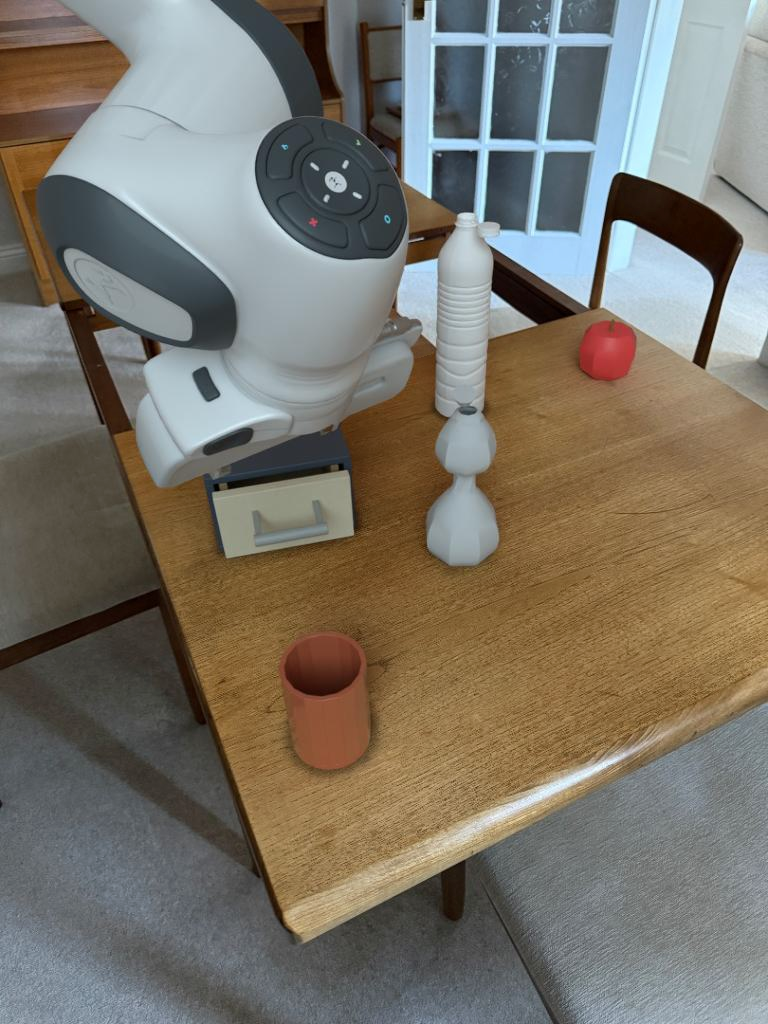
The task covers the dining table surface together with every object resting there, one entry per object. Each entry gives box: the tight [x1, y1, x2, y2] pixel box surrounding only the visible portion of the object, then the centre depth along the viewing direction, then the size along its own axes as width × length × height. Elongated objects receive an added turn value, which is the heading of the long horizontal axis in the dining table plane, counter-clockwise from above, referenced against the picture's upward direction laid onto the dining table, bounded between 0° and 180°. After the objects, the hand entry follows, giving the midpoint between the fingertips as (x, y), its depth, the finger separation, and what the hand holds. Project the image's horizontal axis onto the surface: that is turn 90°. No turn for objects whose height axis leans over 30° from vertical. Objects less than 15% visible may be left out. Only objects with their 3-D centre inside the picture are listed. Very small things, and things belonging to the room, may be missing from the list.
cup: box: [278, 630, 372, 771], centre depth 58 cm, size 6×6×9 cm
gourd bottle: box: [425, 384, 500, 568], centre depth 70 cm, size 8×8×20 cm
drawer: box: [212, 464, 355, 559], centre depth 78 cm, size 20×13×8 cm, turn 14°
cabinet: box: [202, 424, 357, 553], centre depth 82 cm, size 17×15×10 cm
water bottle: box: [434, 212, 501, 418], centre depth 90 cm, size 9×6×25 cm
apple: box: [578, 319, 637, 382], centre depth 102 cm, size 8×8×8 cm
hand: (271, 446), depth 59 cm, fingers open, 8 cm apart
